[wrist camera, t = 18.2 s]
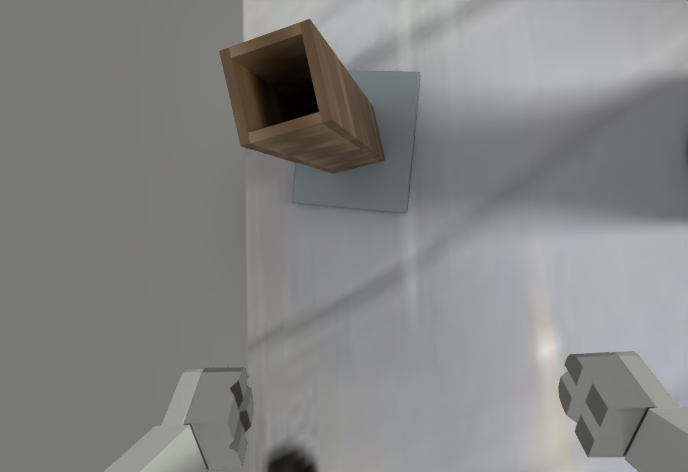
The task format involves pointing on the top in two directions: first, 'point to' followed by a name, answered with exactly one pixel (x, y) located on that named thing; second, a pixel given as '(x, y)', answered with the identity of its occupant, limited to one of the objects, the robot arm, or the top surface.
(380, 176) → the base plate
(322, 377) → the top surface
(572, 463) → the top surface
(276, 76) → the walnut sleeve
